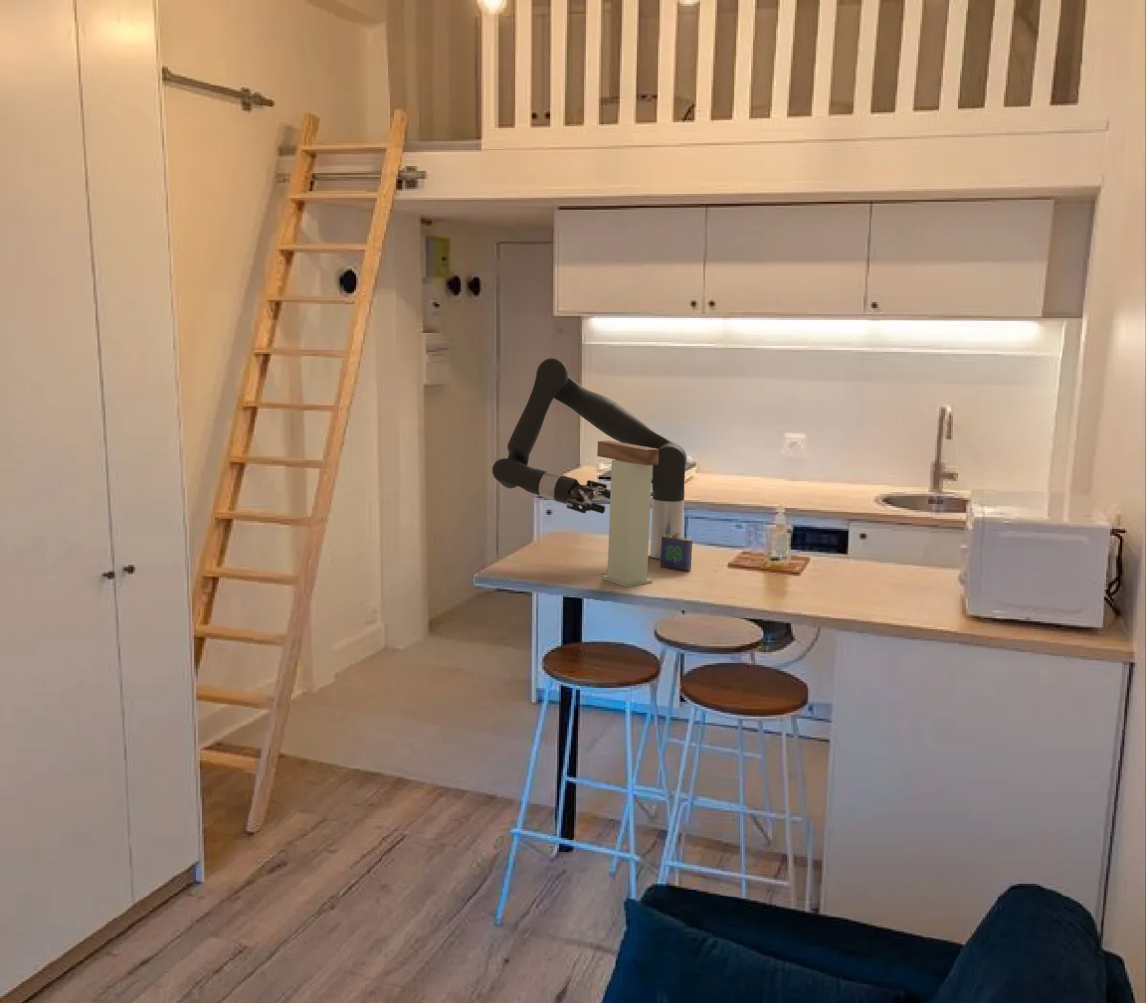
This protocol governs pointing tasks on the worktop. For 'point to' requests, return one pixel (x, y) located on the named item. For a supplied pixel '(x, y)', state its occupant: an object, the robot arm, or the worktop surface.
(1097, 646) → the worktop surface
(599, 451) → the rail
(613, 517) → the stand
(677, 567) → the flask
